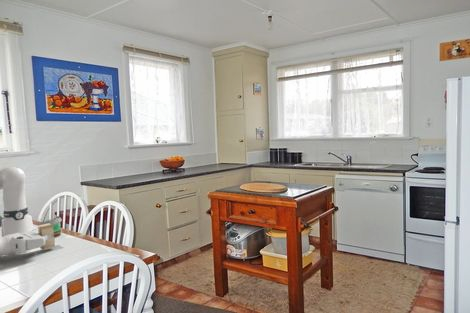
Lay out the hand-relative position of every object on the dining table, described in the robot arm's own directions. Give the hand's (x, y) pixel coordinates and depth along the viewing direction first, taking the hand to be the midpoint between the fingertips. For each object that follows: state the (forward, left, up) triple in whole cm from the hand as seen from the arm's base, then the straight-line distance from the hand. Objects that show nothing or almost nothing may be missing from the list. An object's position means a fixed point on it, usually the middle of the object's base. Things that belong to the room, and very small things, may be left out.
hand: (48, 234), depth 165 cm
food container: (-21, +10, -8) cm, 25 cm away
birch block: (0, -1, -6) cm, 6 cm away
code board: (-5, -1, -7) cm, 9 cm away
